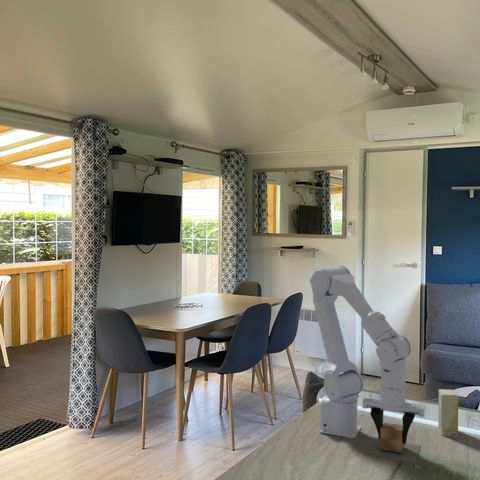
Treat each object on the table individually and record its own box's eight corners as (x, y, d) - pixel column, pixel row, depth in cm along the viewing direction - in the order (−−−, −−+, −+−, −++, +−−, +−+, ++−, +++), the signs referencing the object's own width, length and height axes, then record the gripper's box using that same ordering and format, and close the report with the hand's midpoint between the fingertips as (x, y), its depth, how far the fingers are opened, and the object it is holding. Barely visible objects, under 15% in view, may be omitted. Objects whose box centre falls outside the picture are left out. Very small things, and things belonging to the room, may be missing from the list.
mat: (363, 454, 131) (363, 453, 131) (372, 439, 140) (372, 437, 140) (415, 464, 126) (415, 462, 126) (420, 447, 135) (420, 445, 135)
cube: (380, 449, 132) (380, 428, 132) (384, 442, 137) (384, 422, 137) (401, 452, 130) (401, 431, 130) (404, 445, 135) (405, 425, 135)
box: (458, 437, 141) (459, 395, 140) (440, 436, 142) (441, 394, 141) (454, 429, 146) (455, 389, 145) (437, 428, 147) (438, 388, 146)
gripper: (426, 384, 133) (425, 439, 134) (366, 377, 139) (366, 429, 140) (422, 393, 127) (422, 450, 127) (360, 385, 133) (360, 439, 134)
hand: (392, 440), depth 133 cm, fingers closed on cube, 5 cm apart
